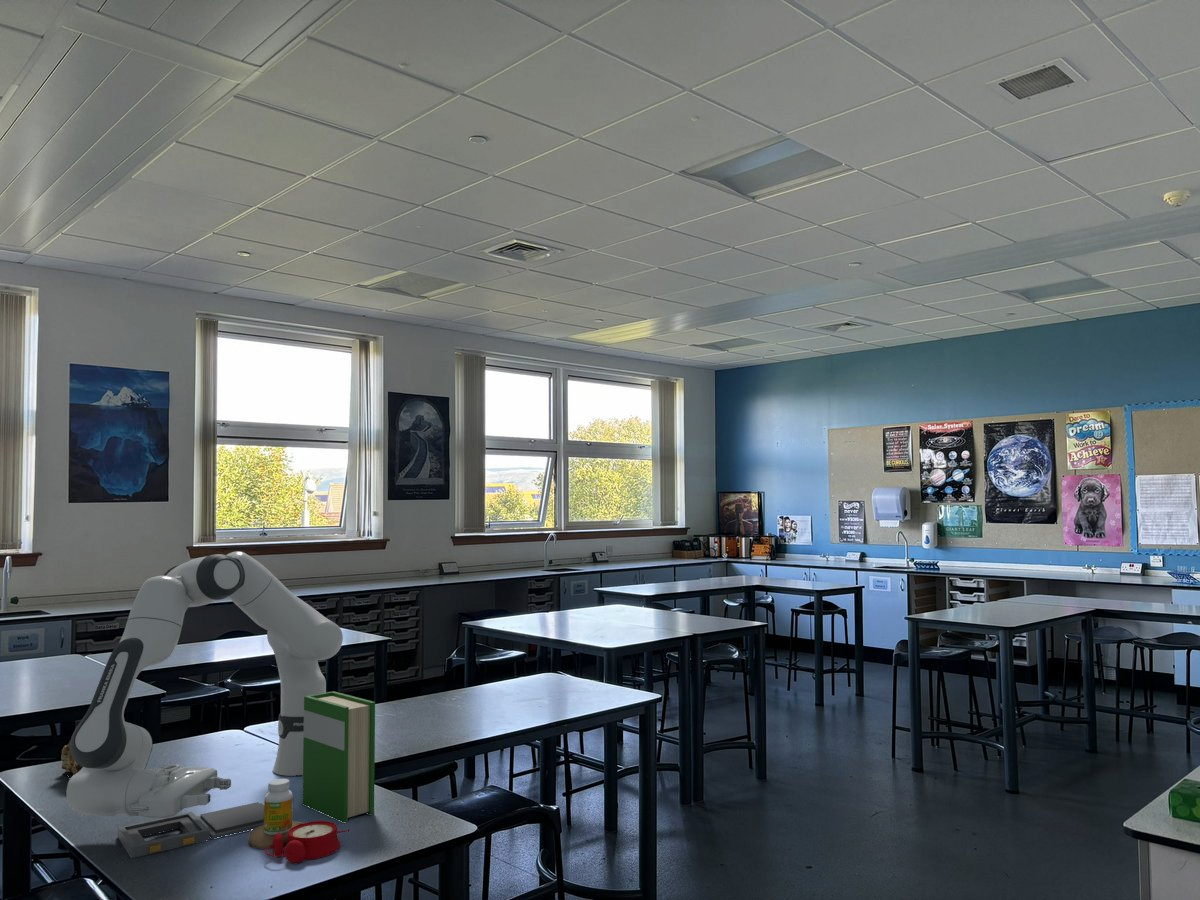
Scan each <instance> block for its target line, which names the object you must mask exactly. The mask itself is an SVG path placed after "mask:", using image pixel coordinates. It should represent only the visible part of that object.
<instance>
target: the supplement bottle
mask: <svg viewBox="0 0 1200 900" xmlns="http://www.w3.org/2000/svg"><path fill="white" fill-rule="evenodd" d="M267 783H268V787H267V790H268V792H267V793H265V796H264V800H263V801H264V802H263V805H264V832H265V833H266V834H268V835H276V834H278V833H281V834H284V833H287V832H289V830H290V829H291V828H292V821H293V801H294V798H293V797H294V796H293V792H292V790H290V789H289V788H290V780H289V779H288V778H275V779H272V780H269V781H268V782H267Z"/></svg>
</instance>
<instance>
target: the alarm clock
mask: <svg viewBox="0 0 1200 900" xmlns="http://www.w3.org/2000/svg"><path fill="white" fill-rule="evenodd" d="M301 823H302V824H299V825H297V826H294V827H293V828H291V829H290V830H289V832H288V842H287V845H286V846H283V840H282V835H281V833H278V834H276V835H275V836H274V838H273V845H270V848H268V849H264V853H265V854H266V855H267V856H269V857H270V856H271V857H272V858H274V857H275V858H280V857H284V856H285V859H286V860H287V862H289V863H290V864H293V863H297V864H300V863H302V862H303V861H304V860H307V861H308V860H315V858H316V859H319V858H320V857H321V858H323V857H327V855H328V856H330V855H332V854H334V853H336V852H337V851H339V850H340V848H341V840H340V839H339V837H338V834H340V833H346V832H348V833H350V831H351V830H350V829H347V830H338V826H337V824H336V823H334V822H332V821H328V820H327V821H326V820H314V821H309V822H307V821H306V822H301ZM271 848H273V849H271ZM269 850H272V852H273V854H271V853H268V852H267V851H269ZM336 850H337V851H336ZM335 851H336V852H335ZM333 852H334V853H333ZM321 858H320V859H321Z"/></svg>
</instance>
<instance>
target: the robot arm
mask: <svg viewBox="0 0 1200 900" xmlns="http://www.w3.org/2000/svg"><path fill="white" fill-rule="evenodd" d="M226 598H229V599H230V601H232V603H233V604H235V606H237V607H238V608H239V609H240V610H241V611H242V612H243V613H244V614H245V615H246V616H248V617H249V618H250V619H251V621H253V622H254V623H255V624H256V625H258V626H259V627H260V628H262V629H264V630H266V633H267V636H266V637H267V641H268V644H269V646H270V647H271V650H272V652H273V653H274V657H275V661H276V666H277V669H278V675H279V680H280V713H279V714H278V722H277V725H278V726H277V732H278V737H279V738H278V747H277V751H276V758H275V762H274V766H273V768H272V772H273V773H274V774H276V775H281V776H287V777H288V776H290V777H291V776H292V777H295V776H296V775H303V739H304V696H310V695H315V694H321V693H327V681H326V677H325V676H324V674H323V673H322V671H321V669H320V665H319V662H318V661H323V660H324V661H325V660H328V659H331V658H332V657H334V656H335V655H337V653H338V652H340V649H341V648H342V645H343V639H344V636H343V632H342V631H343V630H342V629H341V628H340V626H339V625H338V624H337V623H336V622H333V621H332V620H331V619H328V618H327V617H326V616H324V615H323V614H322V613H320V612H319V611H317V610H316V609H315V608H314V607H313V606H311V605H310V604H309V603H307V602H306V601H304V600H303V599H301V598H300V597H298V596H297V595H295V594H294V593H293V592H292V591H291V590H290V589H289V588H287V586H285V584H283V583H282V582H281V580H279V579H278V578H277V577H276V576H275V575H274V574H273V573H272V572H271V571H270V570H269V569H268V568H266V566H265V565H263V564H262V563H261V562H260V561H258V560H257V559H256V558H253V557H252V556H251V555H249V554H247V553H245V552H244V551H237V550H236V551H232V552H229V553H227V554H219V553H217V554H216V553H215V554H210V555H206V556H202V557H197V558H193V559H190V560H188V561H186V562H183V563H181V564H178V565H177V564H176V565H174V566H173V567H170V568H169V569H168V570H167V571H166V572H165V573H163V575H157V576H152V577H149V578H148V579H146V580H145V581H144V582H143V583H142V585H141V586H140V588H139V590H138V593H137V595H136V597H135V599H134V602H133V604H132V606H131V609H130V612H129V614H128V617H127V620H126V625H125V628H124V631H123V634H122V636H121V638H120V639H119V642H118V644H116V646H115V647H113V648H114V649H113V650H112V652H111V654H110V655H109V658H108V660H107V662H106V665H105V667H104V670H103V672H102V674H101V677H100V680H99V681H98V684H97V687H96V690H95V693H94V695H93V697H92V699H91V703H90V705H89V707H88V709H87V710H86V713H85V714H84V716H82V717H83V718H82V719H81V720H80V722H79V723H78V725H77V726H76V727H75V729H74V731H73V733H72V734H71V738H70V740H71V742H69V743H70V752H71V755H72V757H73V759H74V761H75V762H76V763H77V764H79V765H80V766H82V767H83V768H82V769H81V770H80V771H79V772H78V773H76V774H75V775H73V776H72V777H71V779H68V782H67V785H66V791H65V792H66V794H65V795H66V800H67V804H68V806H69V808H70V809H71V810H72V811H73V812H76V814H79V815H83V816H91V817H92V816H93V817H114V816H118V815H126V816H129V817H144V818H155V819H160V818H167V817H172V816H174V815H178V813H180V812H182V810H185V809H188V808H193V807H197V806H207V805H209V803H211V794H210V793H208V792H210V791H211V790H214V789H219V790H221V791H222V790H223V791H224V790H228V789H229V788H231V786H232V779H230V778H223V777H219V776H218V770H217V769H216V768H213V767H200V766H184V767H181V765H180V764H169V765H166V766H163V767H160V768H151V769H149V768H148V769H147V765H148V763H149V760H150V757H151V754H152V750H153V743H154V742H153V738H152V736H151V735H152V734H150V732H149V731H148V729H146V728H144V727H142V726H139V725H137V724H134V723H131V722H127V721H125V717H124V714H125V709H126V706H127V704H128V701H129V698H130V696H131V692H132V689H133V687H134V684H135V682H136V679H137V677H138V676H139V674H140V673H141V672H142V671H143V670H144V669H146V668H148V667H153V666H157V665H159V664H161V663H163V662H164V661H167V660H168V658H170V657H171V656H172V655H173V654H174V651H175V649H176V648H177V645H178V643H179V641H180V637H181V636H180V635H181V632H182V627H183V624H184V619H185V613H186V612H187V610H188V609H190V608H195V607H196V608H197V607H203V606H206V605H209V604H211V603H213V602H217V601H219V600H220V601H221V600H224V599H226Z"/></svg>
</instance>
